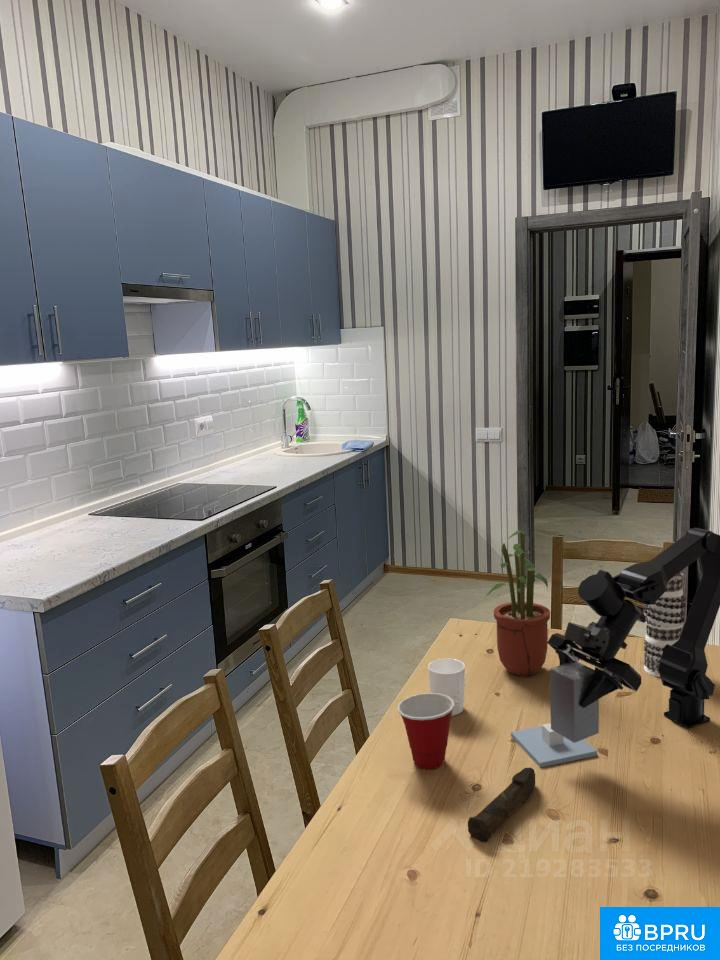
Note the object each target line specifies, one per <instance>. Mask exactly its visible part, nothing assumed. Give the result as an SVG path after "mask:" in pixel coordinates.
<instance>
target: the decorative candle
mask: <svg viewBox="0 0 720 960" xmlns="http://www.w3.org/2000/svg"><path fill="white" fill-rule="evenodd" d="M684 577H685V573H683V572H682V571H681V572H679V573H678V574H677V575H675V576H674V577H673V578H671V579H670V580H669V581H668V583H667V588H666V591H665V592H664V594H663V595H662V596H661V597H660V598H659V599H658V600H657V601H656V602H655V603H653V604H651V605H646V604H643V608H644V615H645V618H646V621H645V625H646V632H645V639H643V641H644V642H643V645H644V646H643V651H644V653H643V670H644V671H645V673H646V674H648V675H651V676H652V677H657V678H661V677H660V673H659V672H658V666H659V662H658V661H659V660H660V658H661V656H662V653H663V649H664V647H665V646H666V645H667V644H668V645H673V644H674V643H675V642H677V641H678V640H679V638H680V635H681V632H682V628H683V627H684V623H685V618H684V617H683V616H685V615H686V614H685V611H684V610H683V609H684V608H686V606H687V605H686V603H685V601H686V599H687V598H686V596H685V595H683V593H684V587H683V578H684Z"/></svg>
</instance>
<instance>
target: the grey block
mask: <svg viewBox="0 0 720 960" xmlns="http://www.w3.org/2000/svg"><path fill="white" fill-rule="evenodd" d="M594 673H595V668H594V669H593V668H591V667H589V666H587V665H585V664H583V663H581V662H579V661H578V662H577V661H571V662H568V663H565V664H563V665H560V666H559V665H557V666H555V667H551V668H550V669H549V679H550V682H549V683H550V686H549V687H550V688H549V689H550V690H549V691H550V692H549V693H550V723H551V729H552V730H553V731H555V732H557V733H558V734H560V735H562V736H564V737H565V738H567V739H569V740H570V741H572V742H574V743H576V742H578V741H580V740H583V739H588V738H590V737H593V736H595V735H597V734H599V733H600V731H599V730H600V727H599V726H600V724H599V723H600V721H599V719H600V718H599V717H600V715H599V714H600V711H599V710H600V709H599V708H600V707H599V704H600V703H599V702H600V699H598V700H596V701H595V702H593V703H592V704H590V705H588V706H587V707H585V708H582V707H581V706H580V703H581V700H582V698H583V696H584V694H585V693H586V691H587V689H588V688H589V686H590V684H591V683H592V681H593V679H594Z"/></svg>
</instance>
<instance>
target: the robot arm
mask: <svg viewBox="0 0 720 960" xmlns="http://www.w3.org/2000/svg"><path fill="white" fill-rule="evenodd" d="M697 559H699V563H700V567H701V571H702V575H701V578H700V580H699V582H698V583H699V584H698V586H697V589H696V592H695V595H694V597H693V599H692V602H691V606H690V608H689V611H688V614H687V616H686V619H685V620H684V623H683V626H682V629H681V635H680V638H679V640H678V641H677V642H675V643H674V644H673V645H668V644H667V645H666V646H665V647H664V649H663V653H662V656H661V658H660V660H659V661H658V662H659V666H658V672H659V673H660V677H659V678H660V680H661V683H662V686H664V687H667V688H669V689H670V691H669V698H668V710H667V711H664V712H663V716H664V717H666V718H667V719H670V720H672V721H674V723H677V724H679V725H680V726H683V727H684V728H686V729H690V728H693V727H696V726H699V725H702V724H705V723H708V722H710V721H711V717H709V716H708V715H705V700H710V697H711V696H713V694H714V692H715V691H714V690H715V687H716V684H715V683H714V682H713V681H712V680H711V679H710V678H709V677H708V676H707V675H706V674H707V670H708V666H709V665H708V660H707V656H706V652H705V649H706V646H707V644H708V643H707V642H708V640H709V638H710V636H711V631H712V629H713V626H714V623H715V621H716V619H717V615H718V612H719V609H720V534H717V533H715V532H713V531H712V530H708V529H707V530H706V529H702V528H699V527H693V528H689V529H688V530H686V532H685V534H684V535H683V536H681V538H679V539H678V540H677V541H675V542H673V543H672V544H671V545H669V546H668V547H667V548H666V549H664V550H663V551H661V552H660V553H658V554H657V555H656V556H654V557H653V558H652V559H650V560H648V561H643V562H638V563H637V562H636V563H634V564H632V565H629V566H628V567H626V568H624V569H622V571H621V572H620V573H619V574H617V575H614V576H613V575H612V574H611V573H610V572H609V571H606V570H604V569H598V571H597V573H596V574H592V575H589V576H588V577H586V578H584V579H583V580H581V582H580V584H579V586H578V588H577V589H578V590H577V591H578V592H577V593H578V596H579V597H580V599H581V600H583V602H584V603H585V604H586V605H587V606H588V607H589V608H590V609H592V611H593V612H594V613H596V614H597V615H598V616H600V617H599V619H598V621H597V622H595V621H591V622H590V623H588V625H587V626H584V625H581V624H577V623H574V622H571V621H568V622H567V623H568V624H567V625H566V630H565V631H564V632H565V633H564V634H561V633H559V632H556V633H553V634H551V635H550V638H549V639H548V641H547V645H549V646H550V647H551V648H552V649H553V650H554V651H555V653H556V655H557V656H558V660H559V661H558V662H559V665H558V666H560V665H563V664H565V663H568V662H571V661H577V662H579V661H580V660H581V661H582V662H585V663H587V664H588V665H591V666H594V670H595V673H594V679H593V681H592V683H591V684H590V686H589V688H588V689H587V691H586V693H585V694H584V696H583V698H582V700H581V703H580V706H581V707H582V708H585V707H587V706H588V705H590V704H592V703H593V702H595V701H596V700H598V699H599V700H600V699H601V698H603V697H605V696H607V695H609V694H610V693H613V692H615V691H617V690H623V689H624V687H625V688H628V689H629V690H631V691H634V692H637V691H638V690H639V688H640V686H641V685H642V675H641V674H640V673H639V672H637V671H636V670H635V668H633V667H632V666H631V664H629V663H627V662H625V661H622V660H621V659H618V658H615V657H616V656H617V654H618V652H619V650H620V649H623V650H626V649H627V647H628V643H626V642H625V641H626V639H627V638H628V636H629V634H630V632H631V630H632V629H633V628H634V626H635V624H636V623H637V621H638V622H639V623H640V622H641V623H645V621H646V618H645V615H646V614H645V613H644V607H642V606H639V605H637V604H634V603H633V601H635V602H638V603H640V604H643V605H644V604H646V605H651V604H653V603H655V602H656V601H657V600H658V599H659V598H660V597H661V596H662V595H663V594H664V592H665V591H666V588H667V583H668V581H669V580H670V579H671V578H673V577H674V576H675V575H677V574H678V573H679V572H681V573H682V571H683V570H685V569H686V568H687V567H688V566H690V565H691V564H693V563H694V562H695V561H696V560H697ZM645 624H646V623H645Z"/></svg>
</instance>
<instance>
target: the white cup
mask: <svg viewBox="0 0 720 960" xmlns="http://www.w3.org/2000/svg"><path fill="white" fill-rule="evenodd" d="M427 667H428V669H427V670H428V680H429V689H430V691H429V693H438V694H443V695H446V696H449V697H450V698H451V699H453V701H454V708H453V710H452V715H451V717H454V716H456V715H457V716H458V715H460V714H461V713H462V712H463V711H464V702H465V700H464V699H465V686H466V684H465V681H466V679H465V675H466V665H465V663H464V662H463V661H461V660H458V659H456V658H455V659H454V658H449V657H447V658H438V659H435V660H432V661H431V662H429V664H428V665H427Z"/></svg>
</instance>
